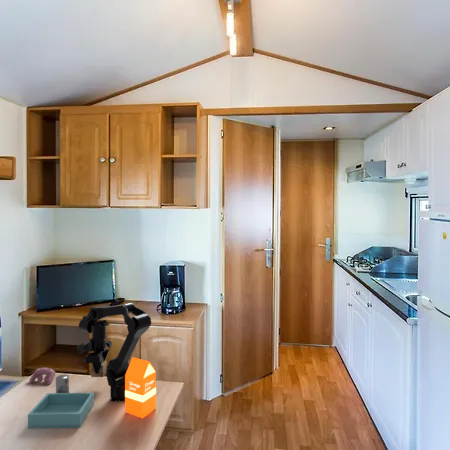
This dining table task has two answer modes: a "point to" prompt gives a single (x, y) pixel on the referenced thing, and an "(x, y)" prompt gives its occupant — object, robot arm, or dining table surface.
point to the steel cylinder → (62, 384)
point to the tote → (61, 410)
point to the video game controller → (39, 375)
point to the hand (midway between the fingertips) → (99, 370)
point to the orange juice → (140, 388)
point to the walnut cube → (102, 370)
